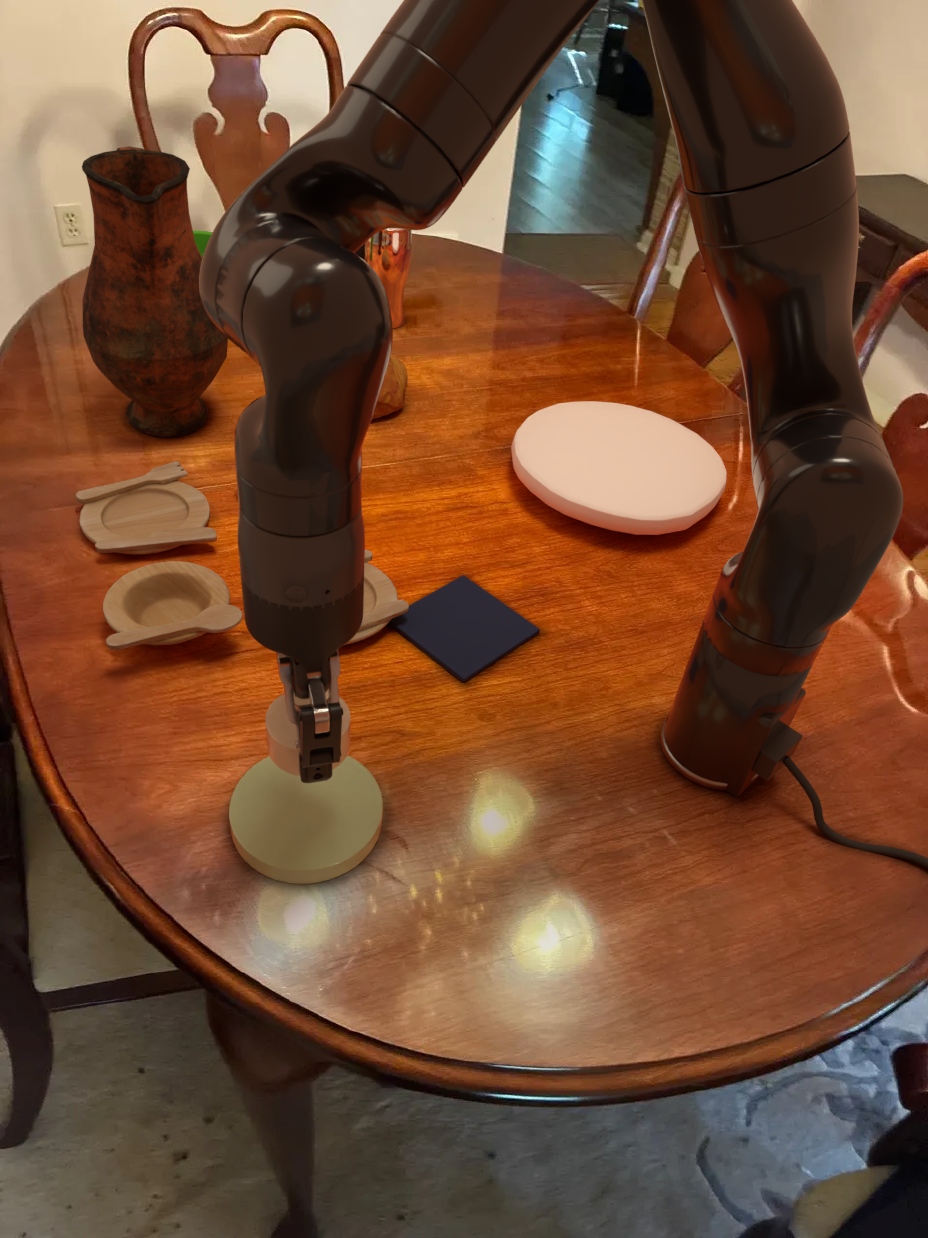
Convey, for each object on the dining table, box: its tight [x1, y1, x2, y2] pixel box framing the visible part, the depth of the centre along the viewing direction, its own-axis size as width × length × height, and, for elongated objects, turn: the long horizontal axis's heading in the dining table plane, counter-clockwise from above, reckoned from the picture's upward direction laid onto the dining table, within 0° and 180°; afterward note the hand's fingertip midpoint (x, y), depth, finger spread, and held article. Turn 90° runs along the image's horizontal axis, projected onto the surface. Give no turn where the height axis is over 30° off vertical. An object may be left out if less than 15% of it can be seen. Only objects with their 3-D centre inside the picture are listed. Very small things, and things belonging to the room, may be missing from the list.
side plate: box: [228, 754, 384, 885], centre depth 74 cm, size 12×12×2 cm
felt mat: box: [387, 574, 541, 684], centre depth 93 cm, size 11×11×1 cm
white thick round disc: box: [510, 400, 728, 536], centre depth 114 cm, size 28×6×27 cm
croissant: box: [372, 352, 409, 420], centre depth 123 cm, size 14×16×8 cm
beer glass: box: [364, 228, 413, 329], centre depth 139 cm, size 7×7×15 cm
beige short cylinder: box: [264, 690, 352, 776], centre depth 67 cm, size 6×6×3 cm
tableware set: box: [75, 460, 410, 651], centre depth 95 cm, size 35×29×4 cm
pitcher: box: [81, 146, 229, 438], centre depth 109 cm, size 17×21×30 cm
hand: (308, 741), depth 68 cm, fingers closed on beige short cylinder, 6 cm apart
